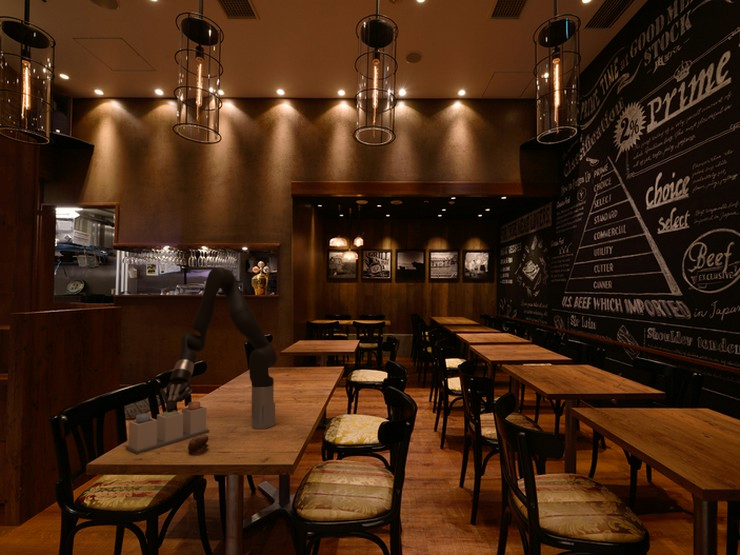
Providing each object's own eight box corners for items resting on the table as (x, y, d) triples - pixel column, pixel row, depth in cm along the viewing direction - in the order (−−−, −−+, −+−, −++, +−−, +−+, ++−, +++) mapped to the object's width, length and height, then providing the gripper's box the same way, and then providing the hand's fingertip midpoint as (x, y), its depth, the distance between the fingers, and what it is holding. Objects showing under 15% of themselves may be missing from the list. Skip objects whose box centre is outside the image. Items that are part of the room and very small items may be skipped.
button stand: (209, 432, 163) (209, 407, 163) (136, 454, 140) (137, 425, 140) (197, 428, 168) (197, 404, 168) (125, 449, 145) (126, 421, 146)
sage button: (178, 419, 155) (178, 411, 155) (167, 422, 151) (167, 414, 151) (172, 417, 158) (172, 409, 158) (161, 420, 154) (161, 412, 154)
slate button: (152, 422, 147) (152, 414, 147) (139, 425, 143) (139, 417, 143) (146, 420, 150) (146, 412, 150) (133, 423, 146) (133, 415, 146)
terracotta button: (202, 409, 163) (202, 402, 163) (192, 412, 159) (192, 404, 159) (196, 408, 166) (196, 400, 166) (185, 410, 162) (185, 403, 162)
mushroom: (217, 438, 147) (206, 426, 145) (209, 454, 139) (198, 442, 137) (200, 447, 148) (189, 435, 146) (191, 463, 140) (180, 452, 138)
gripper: (163, 368, 164) (148, 406, 151) (196, 367, 165) (184, 405, 152) (168, 378, 169) (154, 416, 156) (200, 377, 170) (189, 415, 157)
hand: (169, 410), depth 154 cm, fingers closed
